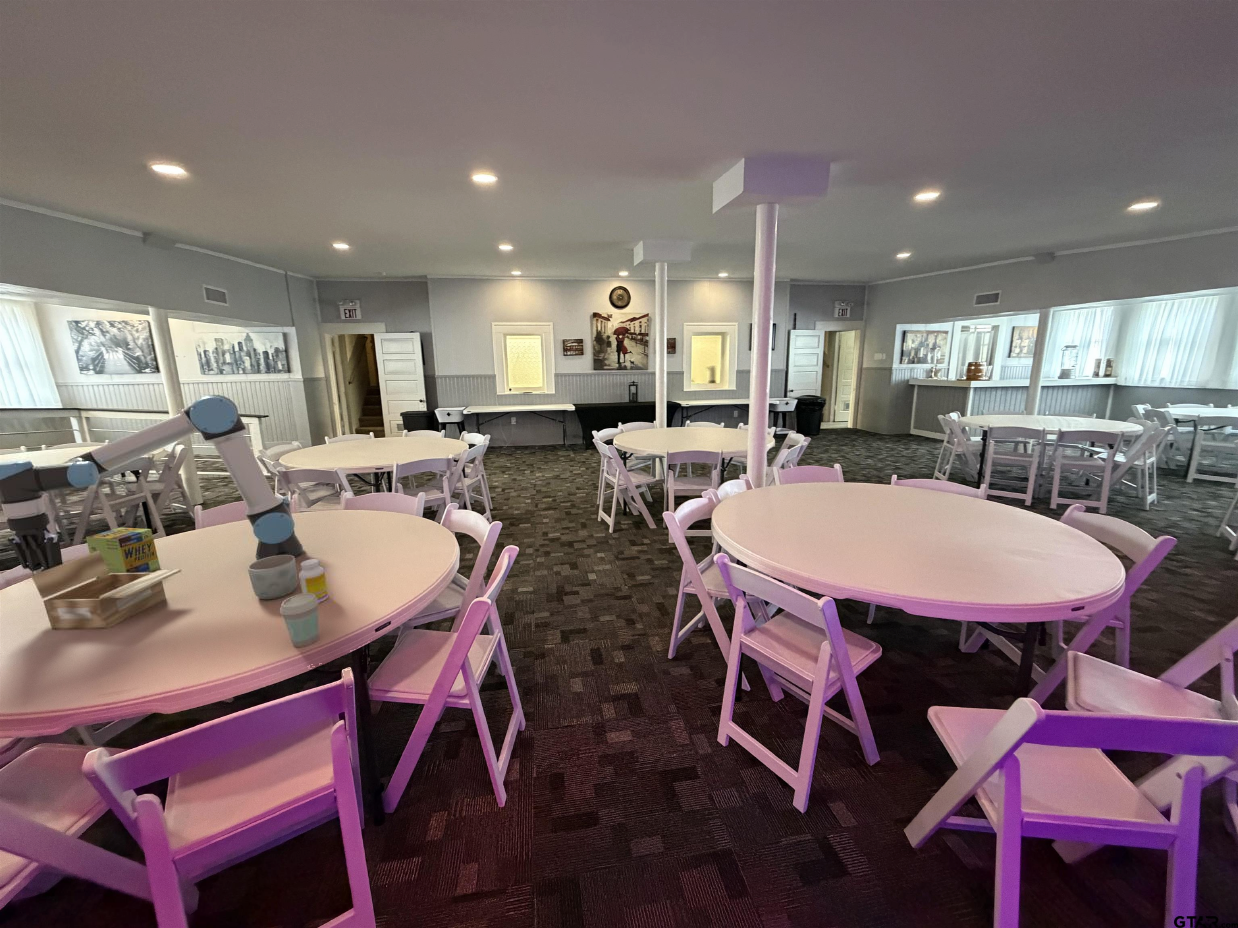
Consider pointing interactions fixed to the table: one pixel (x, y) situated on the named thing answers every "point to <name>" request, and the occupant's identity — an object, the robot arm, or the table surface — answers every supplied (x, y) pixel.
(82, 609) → the light wood open box
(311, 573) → the supplement bottle
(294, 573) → the planter
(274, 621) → the table surface
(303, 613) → the coffee cup
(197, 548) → the table surface
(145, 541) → the protein box
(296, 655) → the table surface
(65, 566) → the open flap
